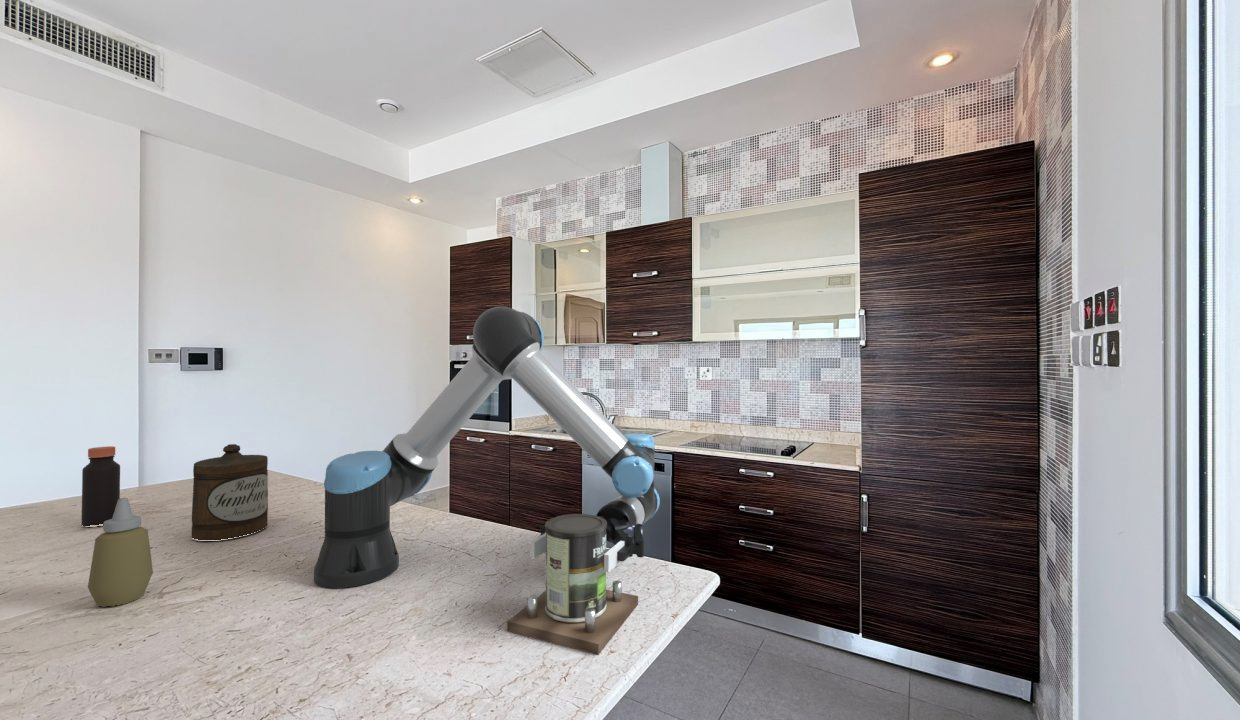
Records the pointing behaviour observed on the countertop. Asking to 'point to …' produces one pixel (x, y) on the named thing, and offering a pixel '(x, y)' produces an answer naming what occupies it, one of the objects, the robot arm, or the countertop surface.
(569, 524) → the coffee can
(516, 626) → the pin nest
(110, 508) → the vinegar
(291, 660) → the countertop surface
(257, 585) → the countertop surface
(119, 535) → the squeeze bottle
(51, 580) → the countertop surface
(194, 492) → the wooden container
